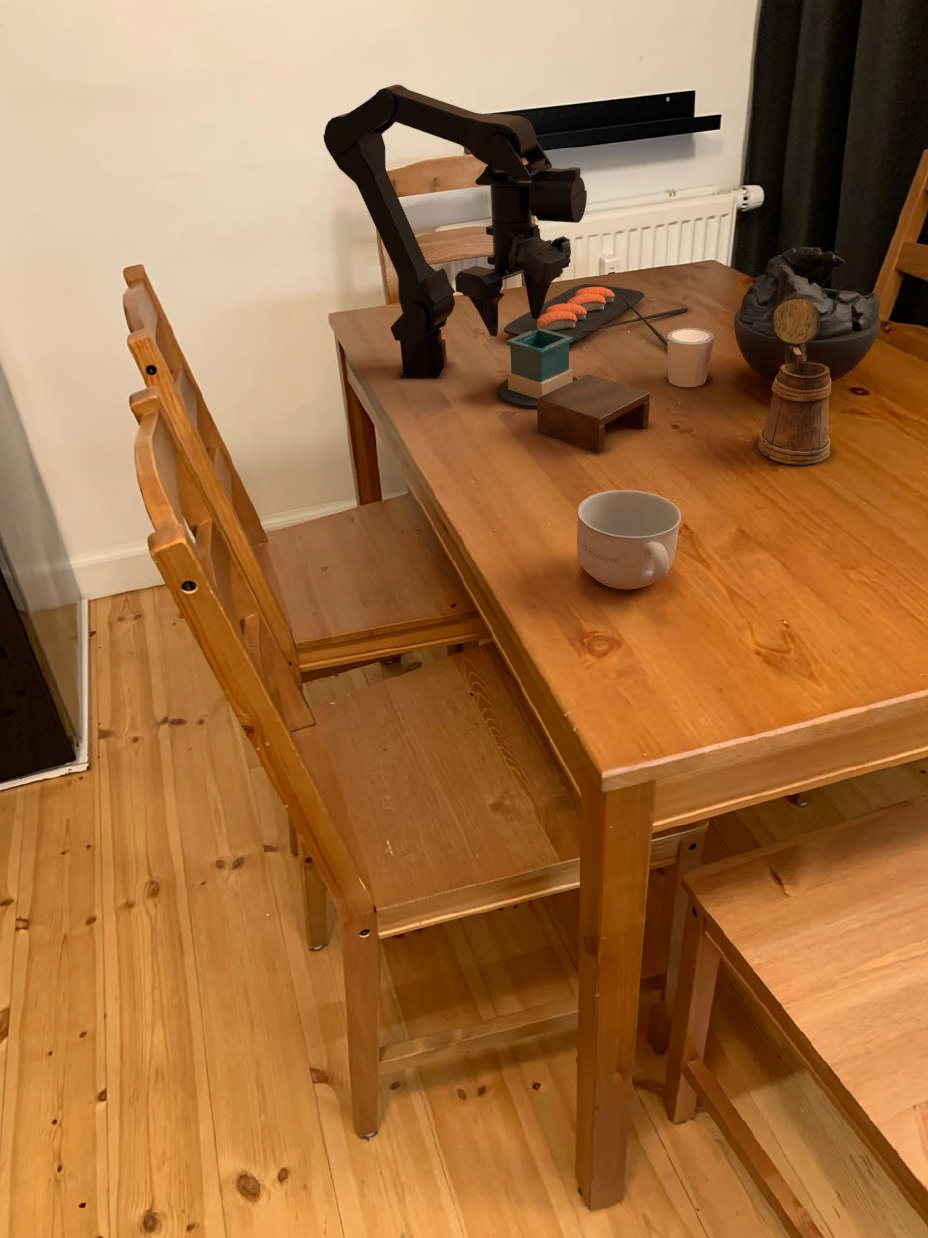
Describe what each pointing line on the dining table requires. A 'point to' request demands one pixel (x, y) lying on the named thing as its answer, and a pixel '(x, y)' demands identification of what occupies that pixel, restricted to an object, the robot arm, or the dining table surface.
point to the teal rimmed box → (539, 362)
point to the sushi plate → (585, 312)
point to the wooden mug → (797, 390)
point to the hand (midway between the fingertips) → (515, 327)
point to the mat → (517, 397)
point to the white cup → (689, 356)
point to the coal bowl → (842, 313)
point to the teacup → (627, 537)
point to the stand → (590, 410)
